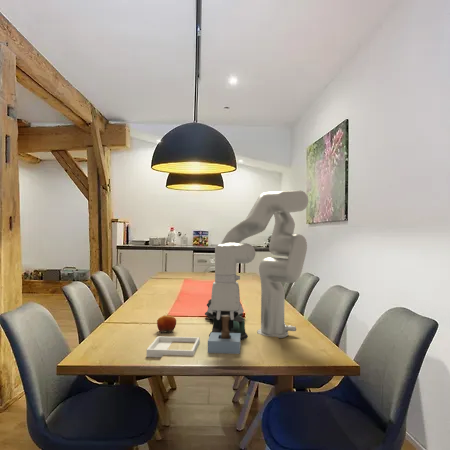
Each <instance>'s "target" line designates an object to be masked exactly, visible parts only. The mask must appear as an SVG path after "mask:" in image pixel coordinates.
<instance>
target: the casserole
mask: <svg viewBox="0 0 450 450" xmlns="http://www.w3.org/2000/svg"><path fill="white" fill-rule="evenodd" d="M210 304H211V298H210V299H208V301H207V304H206V307H207V309H208V308H209V306H210ZM240 304H241V306H242V303H241V302H240ZM242 307H243V306H242ZM216 312H217V311H216ZM235 312H236V311H234V313H235ZM224 314H230V311H221V315H224ZM204 315H205V316H206V317H207V318H208V319H210V320H212V321H213V318H214V317H215V316H214V315H213V314H211V313H209V312H208V311H206V312H204ZM238 316H241V317H243V316H244V312H243V313H241V314H239V315H238Z"/></svg>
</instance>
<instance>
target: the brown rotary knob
mask: <svg viewBox="0 0 450 450" xmlns="http://www.w3.org/2000/svg"><path fill="white" fill-rule="evenodd" d="M224 315H228V316H230V314H224ZM221 316H223V315H221ZM212 321H213V323H212V328H211V332H217V333H221V331H219V328H218V320H217V318H216V317H214V318H213V320H212ZM245 321H246V319H245V318H244V317H243V316H238V315H237V316H236V317H235V318H234V320H233V328H232V330H231V331H230V333H241V341H245V340H246V339H248V334H247V332H246V326H245V325H246V322H245ZM211 332H210V333H209V334H208V338H209V337H210V334H211Z"/></svg>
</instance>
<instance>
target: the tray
mask: <svg viewBox="0 0 450 450" xmlns="http://www.w3.org/2000/svg"><path fill="white" fill-rule="evenodd" d="M200 341H201V340H200V337H194V336H193V337H191V336H166V335H165V336H163V335H162V336H161V335H160V336H159V335H157V337H155V339H154V340H153V341H152V343H150V344H149V346H148V347H147V348H146V354H145V355H146V357H147V358H163V357H164V356H187V357H188V356H194V355H195V352H196V351H197V348H198V346H199V344H200ZM173 342H178V343H181V342H183V343H184V342H185V343H194V344H193V346H192V348H191V349H169V348H170V346H171V345H172V343H173Z"/></svg>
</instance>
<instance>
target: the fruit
mask: <svg viewBox="0 0 450 450" xmlns="http://www.w3.org/2000/svg"><path fill="white" fill-rule="evenodd" d="M156 325H157V326H156V327H157V329H158V331H159V332H160V333H162V334H164V333H171V334H172V333H173V331H174V329H176V325H177V319H176V317H175V316H173V315H168V314H165V315H162V316H159V318H158V319H157V320H156Z"/></svg>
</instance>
